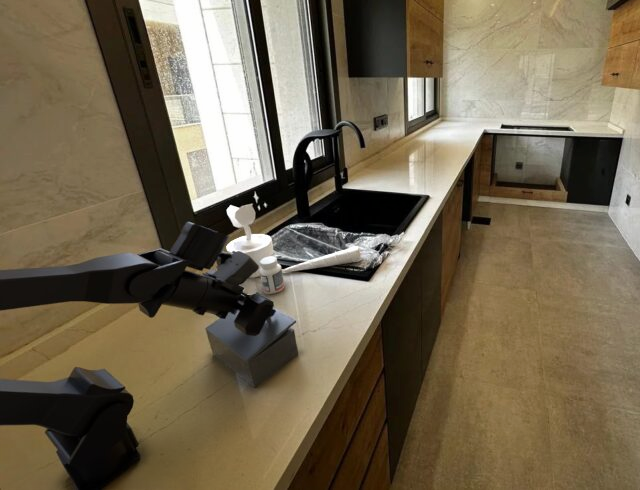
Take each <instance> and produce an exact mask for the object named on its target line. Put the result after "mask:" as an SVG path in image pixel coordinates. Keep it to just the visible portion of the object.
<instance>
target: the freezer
mask: <svg viewBox="0 0 640 490" xmlns="http://www.w3.org/2000/svg"><path fill="white" fill-rule="evenodd" d="M205 332H206V336H207V340H208V342H209V346H210V349H211V352H212V355H213V356H214V357H215V358H216V359H218V360H219V361H220V362H221V363H223V364H224V365H225V366H226V367H228V368H229V369H230V370H231V371H232V372H234V373H235V374H236V375H237V376H238V377H240V378H241V379H242V380H244V381H245V382H246V383H248V385H250V386H251V387H252V388H253V389H256V388H258V386H260V385H261V384H263V383H264V382H265V381H267V380H268V379H269V378H270V377H271V376H272V375H273V374H275V373H276V372H278V371H279V370H280V369H281V368H283V367H284V366H285V365H286V364H288V363H289V362H290V361H292V360H293V359H294V358H295V357H296V356H297V355H299V350H298V344H297V339H296V333H295V329H294V328H292V327H290V328H289V329H288V330H287V331H285V332H284V333H283V334H282V335H281V336H279V337H278V338H277V339H276V340H275V341H273V342H272V343H271V344H270V345H269V346H267V347H266V348H265V349H264V350H263V351H261V352H260V353H259V354H258V355H257V356H255V357H254V358H253V359H252V360H251V361H249V362H247V361H246V360H245V359H243V358H242V357H241V356H239V355H238V354H237V353H235V352H234V351H233V350H231V349H230V348H229V347H227V346H226V345H225V344H223V343H222V342H221V341H219V340H218V339H217V338H215V337H214V336H213V335H211V334H210V333H209V332H207V331H206V330H205Z"/></svg>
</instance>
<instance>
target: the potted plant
mask: <svg viewBox="0 0 640 490" xmlns="http://www.w3.org/2000/svg"><path fill="white" fill-rule="evenodd" d="M252 197H253V198H254V199H255V202H256V203H258V200H259V196H258V195H257V193H256V192H254V196H252ZM253 205H254V203H249V204H245V205H241V206H240V207H237V206H235V205H232V204H230V205H229V207H227V209H226V215H227V216H228V219H229V220H230V222H231V223H232V226H233V227H235V228H237V229H242V228H243V230H244V234H245V235H243V236H240V237H237V238H235V239H233V240H231V241H230V242H229V243H228V244H227V245H225V246H226V252H228V253H231V254H233V253H232V251H236V252H237V251H241V252H243V253H245V254H247V255H249V256H250V257H251V258H252V259H253V260H254V261H255V262H256V263H257V264H258V265H259V269H258V270H257V271H256V272H255V273H253V274H252V275H251V276H250V277H249V278H248V279H251V278H258V277H261V276H260V269H261V268H262V267H261V264H260V261H261V260H262V259H263V258H266V257H270V256H272V255H273V254H274V253H275V251H274V246H273V240H272V238H271V236H270V235H268V234H264V233H252V230H251V227H250V226H249V225H251V224H253V223H254V221H255V220H256V211H255V209H254V207H253ZM263 206H264V207H265V208H267V206H268V204H267V203H266V202H264V204H263ZM257 208H258V211H260V210H261V207H260V205H258V206H257Z"/></svg>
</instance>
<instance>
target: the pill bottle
mask: <svg viewBox="0 0 640 490" xmlns="http://www.w3.org/2000/svg"><path fill="white" fill-rule="evenodd" d="M260 264H261V267H262V268H261V269H260V276H259V277H260V280H261V285H262V290H263V292H264V293H265V294H269V295H273V294H277V293H279V292H281V291H283V289H284V288H285V281H284V274H283V272H282V270H283V269H282V266H281V264H279V263H278V258H277V257H276V256H272V255H271V256H270V257H266V258H263V259H262V260H261V261H260Z"/></svg>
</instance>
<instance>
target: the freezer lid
mask: <svg viewBox="0 0 640 490" xmlns="http://www.w3.org/2000/svg"><path fill="white" fill-rule="evenodd" d="M273 309H274V310H276V312H275V314H274V316H271V317H269V318H267V320H266V322H265V324H264V326H263V327H262V329H261V331H260V333H259V334H258V335H256V336H251V335H246V334H245V333H243V332H242V331H240V330H239V329H237V328H236V327H235V324H234V320H235V319H236V317H237V315H238V313H239V310H237V312H236V314H235V315H234V314H231V313H230V312H229V313H228V315H227V316H226V318H225V319H221V318H219V317H218V319H216V320H214V321H213V322H212V323H210V324H209V325H208V326H206V327H205V328H204V330H205V332H206V331H207V332H209V333H210V334H211V335H213V336H214V337H215V338H217V339H218V340H219V341H221V342H222V343H223V344H225V345H226V346H227V347H229V348H230V349H231V350H233V351H234V352H235V353H237V354H238V355H239V356H241V357H242V358H243V359H245V360H246V361H247V362H249V361H251V360H252V359H253V358H254V357H255V356H257V355H258V354H259V353H260V352H261V351H263V350H264V349H265V348H266V347H267V346H269V345H270V344H271V343H272V342H273V341H275V340H276V339H277V338H278V337H279V336H281V335H282V334H283V333H284V332H285V331H287V330H288V329H289V328H292V327H293V326H294V325H295V324H296V323H297V320H296V319H294V318H293V317H291V316H290V315H287V314H286V313H284V312H282V311H280V310H279V309H277V308H275V307H273Z"/></svg>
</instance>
